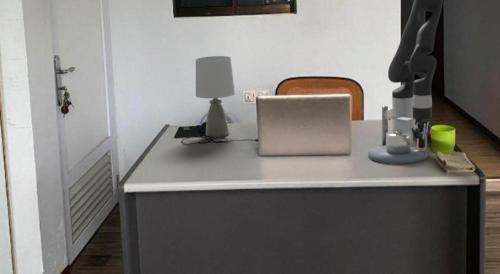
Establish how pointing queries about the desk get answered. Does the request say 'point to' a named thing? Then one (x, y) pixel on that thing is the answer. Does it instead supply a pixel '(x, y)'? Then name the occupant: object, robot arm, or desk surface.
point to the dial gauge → (386, 122)
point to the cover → (398, 143)
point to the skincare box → (405, 126)
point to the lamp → (215, 90)
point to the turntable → (415, 155)
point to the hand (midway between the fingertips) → (421, 147)
